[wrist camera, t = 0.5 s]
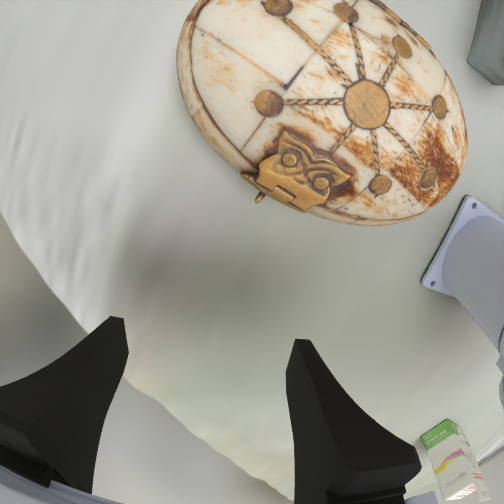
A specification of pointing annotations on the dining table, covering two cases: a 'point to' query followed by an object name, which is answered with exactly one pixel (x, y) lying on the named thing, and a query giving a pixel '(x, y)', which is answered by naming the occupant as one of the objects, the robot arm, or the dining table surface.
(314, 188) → the trinket box
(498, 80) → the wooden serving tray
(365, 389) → the dining table surface
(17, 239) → the dining table surface
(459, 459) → the ink box
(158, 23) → the dining table surface
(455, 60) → the dining table surface
